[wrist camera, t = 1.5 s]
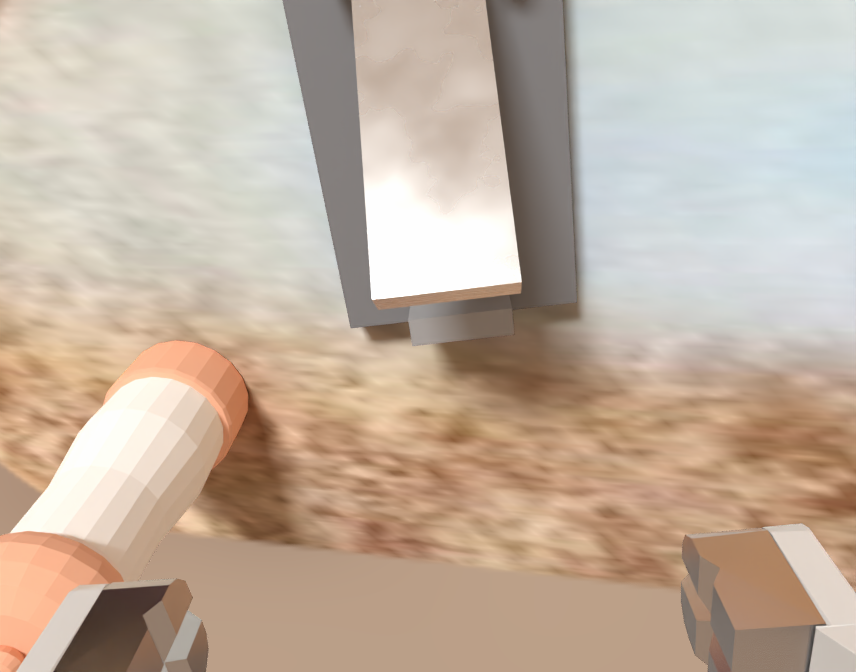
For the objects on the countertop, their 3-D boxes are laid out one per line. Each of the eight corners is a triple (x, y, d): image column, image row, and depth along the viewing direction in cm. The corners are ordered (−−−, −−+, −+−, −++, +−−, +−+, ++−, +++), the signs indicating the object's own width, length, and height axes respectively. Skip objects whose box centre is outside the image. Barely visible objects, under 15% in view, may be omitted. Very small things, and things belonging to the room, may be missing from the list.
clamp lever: (471, -92, 28) (469, -132, 26) (520, 295, 23) (522, 279, 22) (352, -73, 28) (342, -110, 26) (379, 312, 24) (370, 297, 22)
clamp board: (548, -153, 28) (566, -184, 24) (570, 288, 37) (587, 326, 32) (270, -105, 29) (238, -126, 25) (355, 313, 38) (342, 353, 33)
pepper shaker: (238, 338, 39) (67, 600, 21) (257, 443, 42) (120, 746, 25) (115, 341, 39) (-152, 601, 22) (142, 445, 42) (-72, 744, 25)
